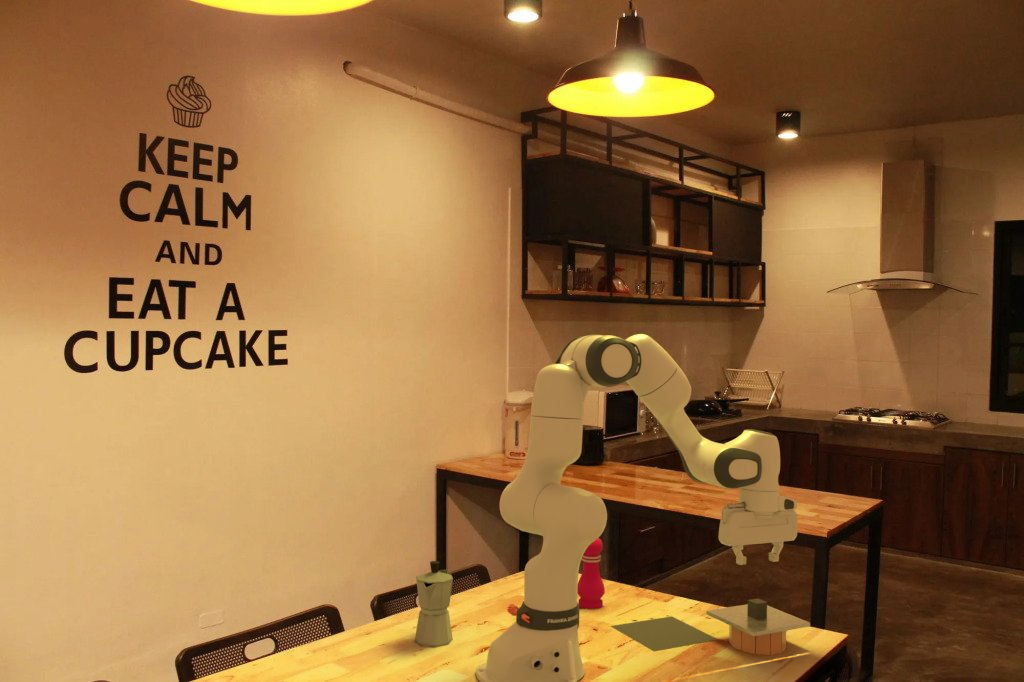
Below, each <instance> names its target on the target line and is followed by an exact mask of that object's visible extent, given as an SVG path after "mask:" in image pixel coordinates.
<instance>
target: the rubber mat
mask: <svg viewBox="0 0 1024 682" xmlns="http://www.w3.org/2000/svg"><path fill="white" fill-rule="evenodd" d="M610 627H611V628H613V629H615V631H618V632H620V633H621V634H623V635H625V636H627V637H628V638H630V639H632V640H633V641H635V642H637V643H639V644H641V645H642V646H644V647H646V648H647V649H649V650H651V651H653V652H658V651H663V650H669V649H675V648H681V647H686V646H691V645H693V646H694V645H697V644H702V643H709V642H714V641H719V639H718V638H717V637H715V636H713V635H711V634H708V633H707V632H705V631H703V630H700V629H699V628H696V627H694V626H692V625H690V624H688V623H686V622H685V621H682V620H680V619H678V618H676V617H674V616H671V615H670V616H666V617H660V618H659V617H658V618H654V619H647V620H640V621H634V622H628V623H620V624H614V625H610Z"/></svg>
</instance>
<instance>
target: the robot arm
mask: <svg viewBox="0 0 1024 682" xmlns="http://www.w3.org/2000/svg"><path fill="white" fill-rule="evenodd" d="M623 383H627V385H629V386H630V388H631V389H632V391H633V392H634V394H635V395H636V396H638V398H639V399H640V401H641V402H642V403H643V404H644V405H645V407H646V408H647V409H648V410H649V411H650V412H651V414H652V415H653V416H654V418H655V419H656V421H657V422H658V424H659V425H660V427H661V428H662V430H663V431H664V433H665V434H666V435H667V437H668V438H669V440H670V441H671V442H672V444H673V446H674V447H675V449H676V451H678V453H679V454H678V455H679V457H680V461H681V463H682V467H683V470H684V471H685V473H686V475H687V476H688V478H690V480H692V481H694V482H696V483H702V484H706V485H707V484H709V485H712V486H715V487H720V488H722V489H723V488H724V489H727V490H728V489H730V490H733V489H738V502H735V503H733V502H729V503H727V504H726V505H725V506H724V507H723V508H722V509H721V515H720V516H721V517H720V520H719V521H720V522H719V528H718V540H719V542H720V543H721V544H722V545H725V546H728V547H731V549H732V551H733V553H734V554H735V562H736V563H735V564H737V565H739V566H743V565H747V556H744V554H743V550H744V546H747V545H757V544H759V545H760V544H761V545H762V544H769V543H771V544H772V545H773V547H772V550H771V552H768V561H770V562H773V563H774V562H779V560H780V553H781V552H782V550H783V548H784V542H791V541H795V540H796V538H797V536H798V530H799V529H798V522H799V521H798V514H797V511H795V510H796V509H797V508H798V502H797V500H795V499H793V498H790V497H786V496H784V495H783V494H780V492H781V491H780V484H779V475H780V471H781V451H780V443H779V440H778V437H777V436H776V435H775V434H773V433H771V432H769V431H768V432H767V431H763V430H757V429H752V428H750V429H749V428H746V429H744V430H743V432H742V433H741V434H740V435H738V436H737V437H736V438H734V439H732V440H730V441H728V442H724V443H719V442H715V441H712V440H710V439H708V438H706V437H704V436H702V434H700V432H699V431H698V429H697V428H696V426H695V425H694V423H693V422H692V420H691V419H690V418H689V416H688V415H687V413H686V410H685V407H686V406H687V405H688V404H689V402H690V400H691V399H690V398H691V395H692V386H691V384H690V381H689V379H688V377H687V376H686V374H685V372H684V371H683V370H682V368H681V367H680V366H679V365H678V363H677V362H676V361H675V360H674V358H673V357H672V356H671V355H670V354H669V353H668V351H667V350H665V349H664V348H663V346H661V345H660V344H659V343H658V342H657V341H656V340H655V339H653V338H652V337H651V336H649V335H647V334H643V333H639V334H638V333H637V334H633V335H631V336H629V337H627V338H626V339H624V338H622V337H619V336H616V335H612V334H611V335H608V334H607V335H602V334H589V335H584V336H577V337H575V338H574V339H571V340H570V341H568V342H567V343H566V344H565V346H564V347H563V348H562V350H561V352H560V354H559V357H557V360H556V362H555V363H553V364H549V365H546V366H544V367H543V368H542V369H540V371H539V372H538V373H537V376H536V380H535V384H534V388H533V391H532V392H533V393H532V398H531V405H530V406H531V407H530V408H531V409H530V418H529V419H530V421H529V436H528V444H527V445H528V446H527V452H526V456H525V459H524V461H523V464H522V467H521V469H520V471H519V473H518V475H517V476H515V478H514V479H513V480H512V481H511V482H510V483H509V484H507V486H506V487H505V488H504V489H503V491H502V493H501V495H500V499H499V511H500V516H501V518H502V519H503V521H504V522H505V523H506V524H508V525H510V526H511V527H514V528H515V529H518V530H520V531H521V532H526V533H529V534H533V535H539V536H542V539H543V540H542V548H541V551H540V552H539V553H538V554H537V555H534V557H531V559H529V560H528V561H527V563H526V564H525V566H524V567H525V568H524V574H523V575H524V582H523V583H524V588H523V589H524V590H523V595H524V596H523V599H524V600H523V601H522V604H521V606H520V607H518V606H516V604H514V603H510V604H509V605H508V606H507V609H506V611H507V613H509V615H511V616H513V617H516V618H515V621H514V623H512V624H511V625H510V626H509V627H508V628H507V629H506V630H504V631H503V632H502V633H501V634H500V635H499V636H498V637H497V638H495V639H494V640H493V641H492V642H491V643H490V646H489V648H488V652H487V659H486V663H483V664H479V665H477V666H476V668H475V669H476V670H475V677H476V678H477V679H478V681H479V682H578V681H579V680H581V679H582V678H583V677H584V675H585V668H584V665H583V660H582V656H581V650H580V642H579V631H578V630H579V627H580V608H579V601H578V593H577V590H578V582H579V572H580V571H579V570H580V565H581V562H582V556H583V554H584V552H585V550H586V549H587V547H588V546H589V545H590V544H591V543H592V542H593V541H595V540H596V539H597V538H599V537H601V536H602V534H603V532H604V531H605V528H606V526H607V522H608V521H607V520H608V512H607V507H606V504H605V502H604V500H603V499H602V498H601V497H600V496H598V495H597V494H595V493H592V492H591V491H588V490H586V489H583V488H582V487H577V486H576V487H575V486H570V485H569V486H568V485H563V484H561V482H562V477H563V474H564V472H565V470H566V469H567V467H568V466H570V465H571V464H574V463H575V462H576V461H577V460H578V459H579V458H580V456H581V454H582V448H583V447H582V445H583V432H584V431H583V429H584V403H585V400H586V396H587V394H588V392H589V390H590V389H591V388H604V387H606V388H613V387H616V386H620V385H621V384H623Z"/></svg>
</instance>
